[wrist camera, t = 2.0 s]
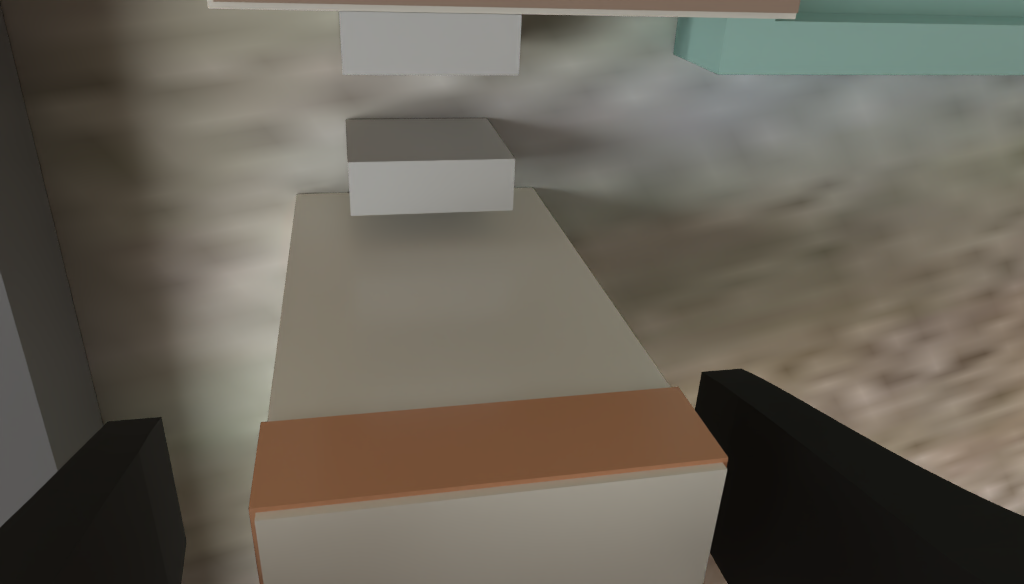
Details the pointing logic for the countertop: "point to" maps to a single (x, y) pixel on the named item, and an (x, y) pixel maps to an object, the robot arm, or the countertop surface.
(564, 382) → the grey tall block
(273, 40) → the countertop surface
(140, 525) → the robot arm
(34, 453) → the clip block
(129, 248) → the countertop surface
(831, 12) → the tray
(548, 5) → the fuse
